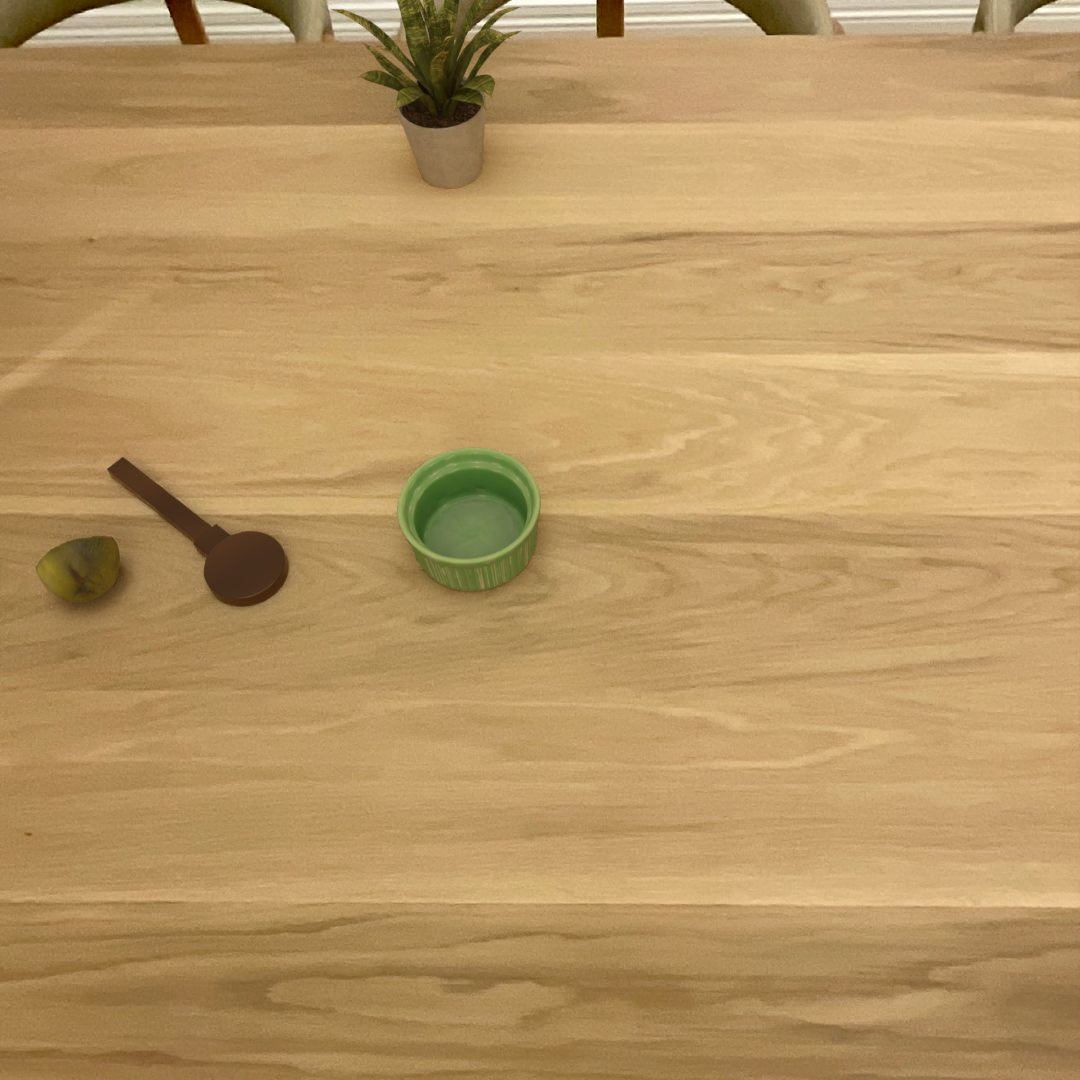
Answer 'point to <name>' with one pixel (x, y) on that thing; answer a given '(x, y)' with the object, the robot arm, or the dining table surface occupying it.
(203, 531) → the spoon
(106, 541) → the lime
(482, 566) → the ramekin
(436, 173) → the house plant
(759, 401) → the dining table surface
